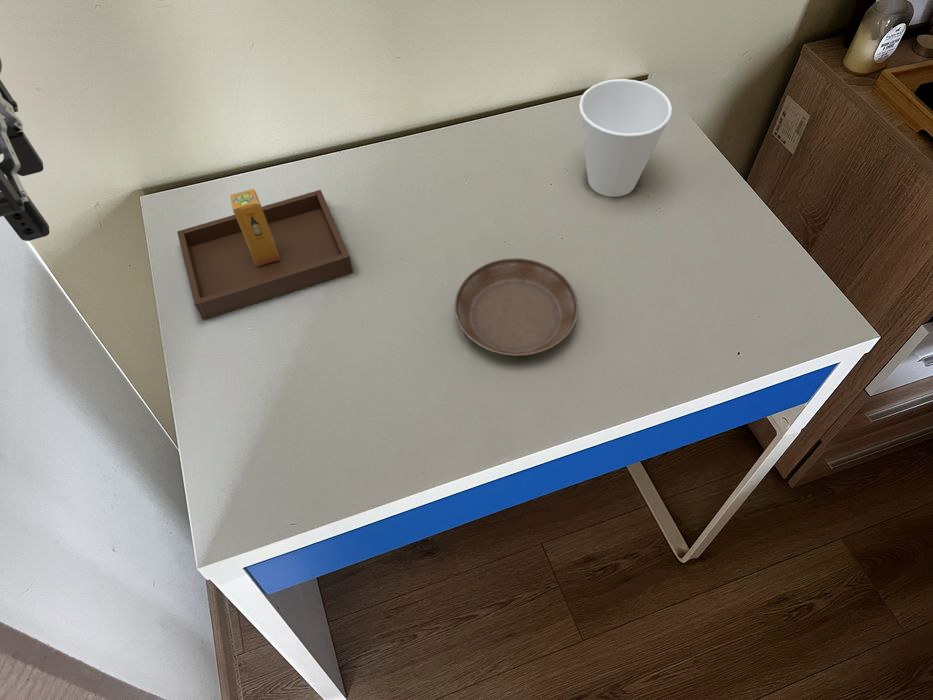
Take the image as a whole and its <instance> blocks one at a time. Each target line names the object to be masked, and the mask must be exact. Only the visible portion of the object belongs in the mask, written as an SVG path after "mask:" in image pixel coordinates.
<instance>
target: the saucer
mask: <svg viewBox="0 0 933 700" xmlns="http://www.w3.org/2000/svg"><path fill="white" fill-rule="evenodd" d="M578 313H579V303H578V297H577V294H576V291H575V289H574V288H573V286H572V283H570V281H569V280H568V279H567V278H566V277H565V275H563V274H562V273H560V272H559V271H558V270H556V269H555V268H554V267H552V266H550V265H547V264H546V263H543V262H540V261H537V260H534V259H528V258H523V257H522V258H520V257H519V258H518V257H512V258H511V257H510V258H502V259H497V260H494V261H491V262H490V261H489V262H488V263H486V264H483V265H481V266H480V267H478V268H476V269H475V270H473V271H472V272H471V273H470V274H468V275H467V277H466V278H465V279H464V280H463V281H462V283H461V284H460V286H459V288H458V290H457V292H456V295H455V298H454V314H455V318H456V321H457V323H458V325H459V327H460V329H461V330H462V331H463V333H464V334H465V335H466V336H467V338H469V339H470V340H471V341H472V342H474V343H475V344H476V345H478V346H479V347H482V348H484V350H487V351H490V352H492V353H496V354H499V355H503V356H511V357H526V356H531V355H535V354H540V353H542V352H544V351H547V350H549V349H551V348H553V347H555V346H557V345H558V344H559V343H560V342H562V341H563V340H564V339H565V338H566V337H567V336H568V335H569V334H570V332H571V331H572V330H573V328H574V326H575V324H576V322H577V318H578Z"/></svg>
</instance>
